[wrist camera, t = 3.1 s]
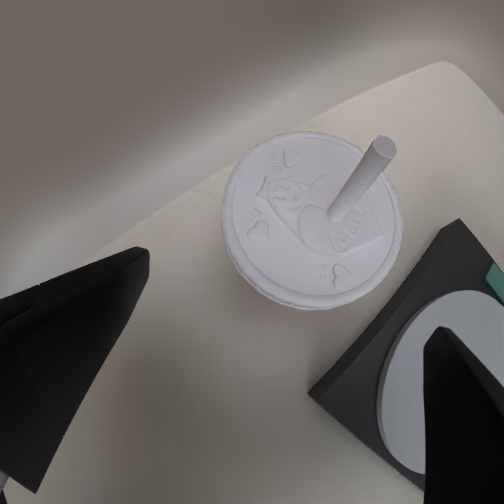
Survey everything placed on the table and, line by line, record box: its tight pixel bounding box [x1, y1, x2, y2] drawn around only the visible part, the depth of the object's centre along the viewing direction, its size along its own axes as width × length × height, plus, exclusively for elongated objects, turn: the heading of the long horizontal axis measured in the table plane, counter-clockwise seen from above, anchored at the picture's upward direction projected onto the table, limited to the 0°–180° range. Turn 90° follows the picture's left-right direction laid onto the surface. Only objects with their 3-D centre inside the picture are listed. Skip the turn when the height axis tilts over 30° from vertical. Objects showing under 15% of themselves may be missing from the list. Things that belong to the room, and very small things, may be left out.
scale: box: [308, 218, 504, 492], centre depth 17 cm, size 15×14×3 cm
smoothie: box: [221, 131, 403, 310], centre depth 13 cm, size 6×6×14 cm
